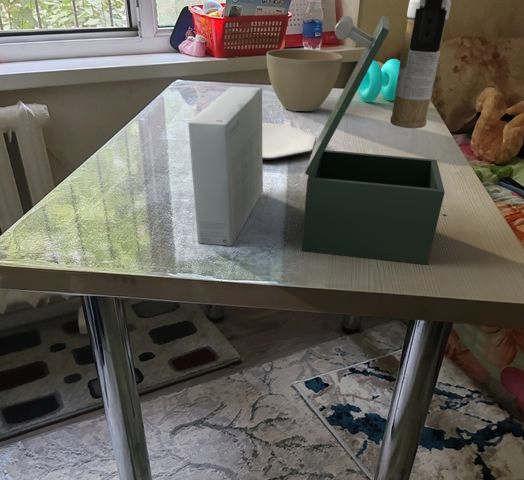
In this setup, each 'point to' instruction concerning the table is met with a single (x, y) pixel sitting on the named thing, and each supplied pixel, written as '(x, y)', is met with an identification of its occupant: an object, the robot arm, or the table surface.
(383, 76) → the turquoise yoyo
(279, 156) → the plate
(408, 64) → the sprinkles bottle
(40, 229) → the table surface
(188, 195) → the table surface
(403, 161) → the trash bin
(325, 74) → the flower pot
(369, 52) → the bin lid
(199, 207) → the skincare box
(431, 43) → the robot arm
